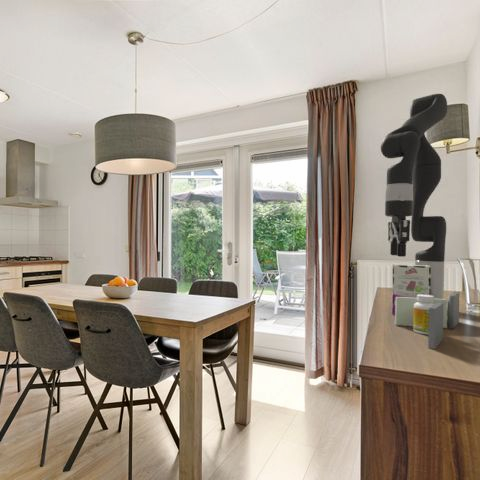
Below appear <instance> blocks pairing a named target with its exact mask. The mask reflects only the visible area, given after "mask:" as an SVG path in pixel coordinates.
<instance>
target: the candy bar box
mask: <svg viewBox="0 0 480 480" xmlns="http://www.w3.org/2000/svg"><path fill="white" fill-rule="evenodd" d="M391 275H392V281H391V282H392V283H391V284H392V289H391V291H392V292H391V311H392V312H391V314H392V315H393V316H395V301H396V297H412V298H417V295H419V294H422V295H430V289H431V266H427V265H415V264H392V274H391Z"/></svg>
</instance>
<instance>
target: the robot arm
mask: <svg viewBox="0 0 480 480" xmlns="http://www.w3.org/2000/svg"><path fill="white" fill-rule="evenodd" d="M447 113H448V100H447V98H446V96H445V94H443V93H434V94H430V95H426V96H425V95H424V96H421V97H419V98H414V99H413V100H412V101H411V102H410V107H409V118H408V119H407V120H405V122H403V124H402V125H401V126H400V127H398V128H397V129H394V130H392V131H391V132H390V133H388V134H387V135H385V137H384V138H383V139H382V141H381V143H380V144H381V145H380V152H381V154H382V155H383V156H384V157H385V158H387V159H396V158H402V159H401V160H400V161H399V162H398V163H395V164H393V165H390V166H389V167H388V168H387V170H386V188H385V196H384V197H385V198H384V199H385V203H384V208H385V209H384V215H385V217H391V221H388V223H387V227H388V230H387V232H388V233H387V234H388V236H387V237H388V238H387V240H388V241H389V244H390V250H389V251H390V252H389V253H390V255H391V256H397V257H401V258H402V257H404V258H405V257H406V255H407V243H408V242H410V232H411V238H412V240H413V241H414V242H418V243H422V242H424V243H433V244H432V245H431V246H430V247H428V248H427V249H425V250H420V251H417V252H415V257H414V258H415V260H414V261H415V262H414V265H427V266H431V289H430V295H431V296H434V299H445V297H444V296H445V295H444V293H445V288H444V287H445V255H446V253H445V252H446V240H447V239H446V236H447V221H446V218H445V217H444V216H442V215H434V216H433V215H429V216H424V213H425V212H424V211H425V206H426V204H427V202H428V200H429V199H430V197H431V196H432V194H433V193H434V191H435V190H436V188H437V187H438V186H439V183H440V182H441V179H442V159H441V156H440V155H439V153H438V152H437V150H436V149H435V148H434V147H433V146H432V144H431V143H430V142H429V141H428V138H427V137H426V135H425V133H426V132H427V131H429V130H430V129H431V128H432V127H433V126H435V125H436V124H438V123H439V122H441V121H442V120H444V119H445V118H446V116H447ZM407 217H411V219H407ZM410 229H411V230H410Z"/></svg>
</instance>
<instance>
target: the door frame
mask: <svg viewBox="0 0 480 480" xmlns="http://www.w3.org/2000/svg"><path fill="white" fill-rule="evenodd" d="M443 306H444V303H439V302H438V303H436V304H435V305H433V306H431V307H430V308H429V335H428V342H427V343H428V344H427V345H428V346H427V349H432V350H435V349H436V348H438V346H439V345H440V343H442V342H443V340H444V328H443ZM459 322H460V291H459V292H458V291H454V292H452V293H451V294H449V295H447V328H446V329H448V330H449V329H450V330H454V329H455V327H456V326H457V325H458V324H459Z"/></svg>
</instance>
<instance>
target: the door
mask: <svg viewBox="0 0 480 480" xmlns="http://www.w3.org/2000/svg"><path fill="white" fill-rule="evenodd" d="M417 302H418V300H417V298H412V297H396V301H395V315H394V325H396V326H407V327H409V326H410V327H413V319H414V304H415V303H417ZM438 302H439V303H444V306H443V329H445V328H446V329H448V328H447V308H448V298H447V299H446V298H444V299H434V302H433V304H434V305H435V304H436V303H438Z"/></svg>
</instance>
